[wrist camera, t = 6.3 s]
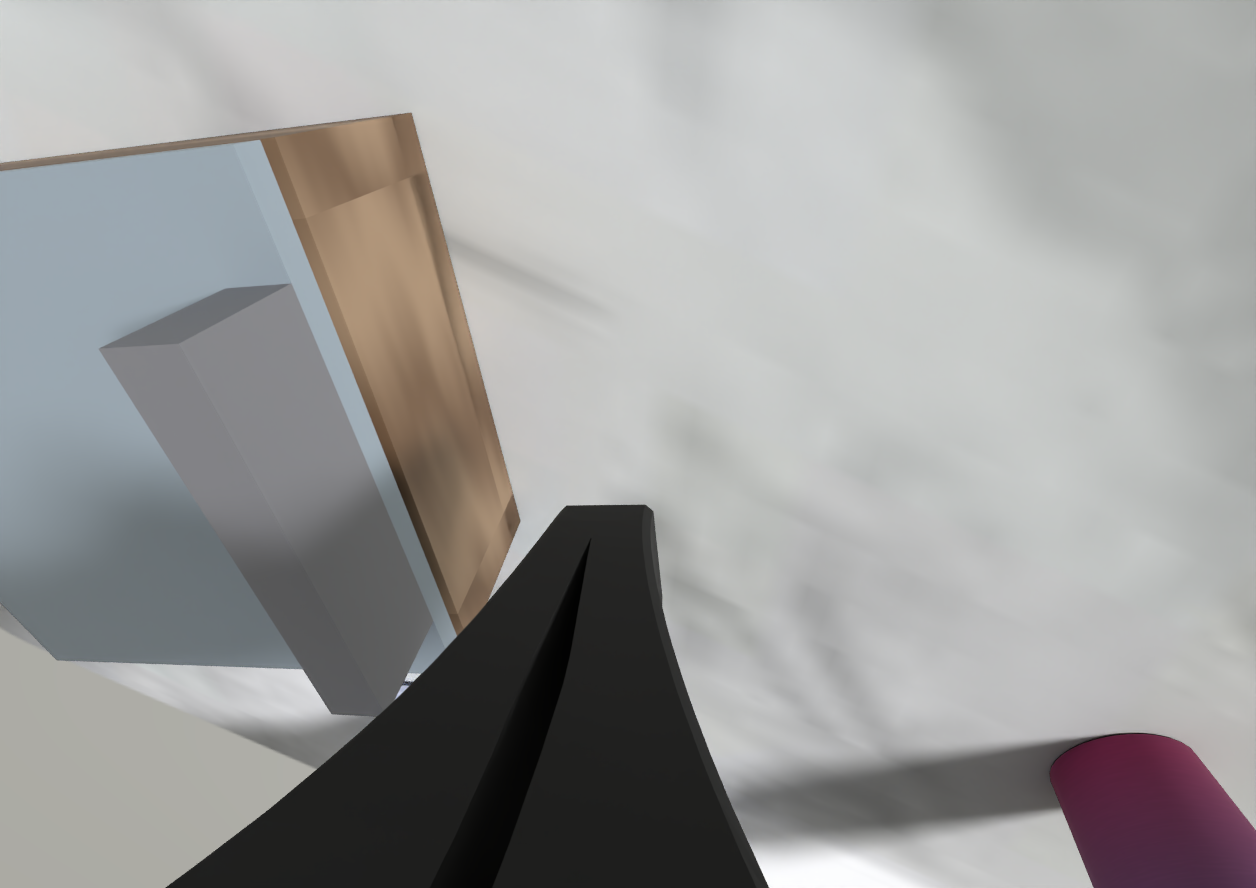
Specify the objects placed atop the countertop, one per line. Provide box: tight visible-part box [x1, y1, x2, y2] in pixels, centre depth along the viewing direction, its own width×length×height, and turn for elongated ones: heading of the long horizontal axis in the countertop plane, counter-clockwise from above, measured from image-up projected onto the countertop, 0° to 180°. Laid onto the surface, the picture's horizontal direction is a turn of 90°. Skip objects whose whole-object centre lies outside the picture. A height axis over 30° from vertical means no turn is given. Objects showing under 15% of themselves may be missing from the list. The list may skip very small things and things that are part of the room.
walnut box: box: [0, 113, 520, 636], centre depth 15 cm, size 12×12×5 cm
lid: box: [0, 140, 457, 716], centre depth 12 cm, size 12×12×3 cm
